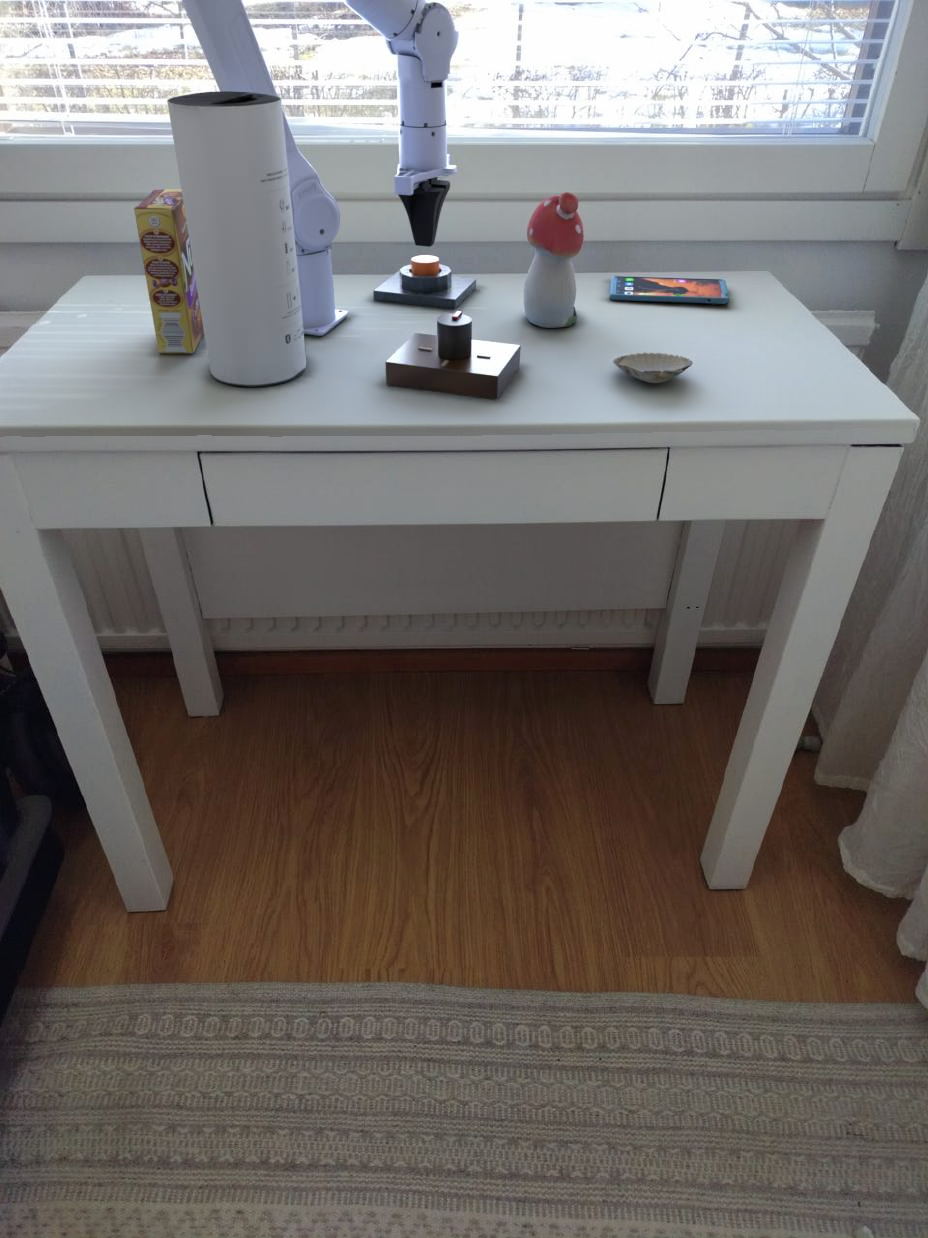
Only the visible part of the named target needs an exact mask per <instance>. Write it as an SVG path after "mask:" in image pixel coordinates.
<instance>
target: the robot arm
mask: <svg viewBox="0 0 928 1238" xmlns="http://www.w3.org/2000/svg"><path fill="white" fill-rule="evenodd" d="M342 1H343V3H344V4H345V6H347V7H348V8H350V10H351V11H352V12H354V13H355V14H356V15H357V16H359V17H360V18H361V19H362V20H363V21H365V22H366V23H367V24H368V25H370V27H372V28H373V29H374V30H375V31H376V32H377V33H379V34H380V35H381V36H382V37H384V41H385V45H386V47H387V49H388V51H389V52H390V54H391V55H395V56H396V82H397V83H396V85H397V87H396V89H397V117H398V118H397V120H398V121H397V123H398V153H399V155H398V156H399V158H398V159H399V160H398V161H399V162H398V164H397V174H395V175H394V177H393V180H394V181H393V183H394V195H398V198H399V199H400V200H401V203H402V204H403V205H402V206H403V207H404V209H405V211H406V215H407V218H408V221H409V226H410V230H411V234H412V238H413V241H414V246H417V247H427V248H428V247H429V248H431V247H432V246H433V245H434V244H435V242H436V238H437V237H436V236H437V232H438V227H439V226H438V225H439V221H440V216H441V212H442V208H443V206H444V203H445V200H446V197H447V195H448V193H449V191H450V189H451V182H450V180H445V179H444V180H443V179H438V177H442V176H445V175H451V176H452V175H454V174H455V173H457V165H454V164H453V165H452V164H451V155H450V154H448V79H449V75H450V74H451V60H452V57H453V56H454V54H455V51H456V50H457V47H458V43H459V36H460V32H459V31H457V30H456V26H455V22H454V20H453V17H452V15H451V13H450V11H449V10H448V8H447V7H445V5H443V4H442V3H439V2H436V1H427V0H342ZM181 2H182V4H183V7H184V9H185V11H186V14H187V16H188V19H189V22H190V23H191V26H192V28H193V31H194V33H195V35H196V39H197V40H198V42H199V45H200V48H201V49H202V52H203V54H204V57H205V59H206V62H207V64H208V66H209V69H210V71H211V73H212V76H213V78H214V81H215V83H216V85H217V88H218V91H232V92H251V93H261V94H269V95H274V96H278V97H279V95H278V92H277V89H276V87H275V84H274V82H273V78H272V76H271V73H270V71H269V68H268V65H267V63H266V60H265V58H264V55H263V53H262V50H261V47H260V44H259V42H258V40H257V39H258V38H257V36H256V33H255V31H254V28H253V26H252V23H251V21H250V18H249V16H248V13H247V11H246V10H247V9H246V8H245V5H244V1H243V0H181ZM282 113H283V124H284V134H285V144H286V155H287V165H288V175H289V186H290V196H291V206H292V216H293V226H294V237H295V247H296V257H297V267H298V278H299V288H300V299H301V310H302V321H303V331H304V335H312V336H318V337H319V336H321V337H322V336H324V335H325V334H327V333H328V332H330V331H331V330H332V329H333V328H335V326H337V325H338V324H339V323H340V322H342V321H343V320H344V319H345V318H347V317H348V316H349V311H348V310H345V309H344V310H343V309H336V303H335V290H334V277H333V264H332V251H331V249H333V245H332V242H333V241H334V240H335V238H336V236H337V234H338V233H339V229H340V224H341V212H340V207H339V205H338V203H337V201H336V198H334V197H333V196H332V194H330V193H329V192H328V190H327V189H325V187H324V185H323V184H322V182H321V179H320V176H319V174H318V172H317V171H316V170H315V168H314V167H313V166H312V165H311V164H310V162H309V161H308V160H307V158H305V157H304V156H303V154H302V153H301V151H300V150H299V147H298V145H297V142H296V140H295V138H294V135H293V132H292V129H291V127H290V124H289V121H288V119H287V116H286V113H285V111H284V108H283V107H282Z"/></svg>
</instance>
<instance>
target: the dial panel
mask: <svg viewBox="0 0 928 1238" xmlns="http://www.w3.org/2000/svg"><path fill="white" fill-rule="evenodd" d="M384 362H385V380H386V381H385V382H386V383H385V384H386V385H387V386H392V387H400V388H407V389H415V390H422V391H429V392H437V393H444V394H450V395H451V394H452V395H460V396H468V397H473V398H474V397H476V398H481V399H488V400H489V399H490V400H496V401H497V400H498V399H499V398H500V396H501V395H502V393H503V392H504V391H505V389H506V388H507V386H508V385H509V383H510V382H511V381H512V379H513V377H514V376H515V375H516V374H517V372H518V370H519V369H520V365H521V345H520V344H513V343H505V342H498V341H497V342H496V341H488V340H478V339H472V353H471V355H470V356H468V357H466V358H461V359H448V358H443V357H441V356H439V355H438V353H437V334H428V333H419V332H414V333H413V334H412V335H411V337H409V338H408V339H407V340H406V341H405V342H404V343H403V344H402V345H401V346H400V347H399V348H398V349H397V350H395V352H394V353H393V354H392V355H391V356H390V357H389V358H388V359H387V360H386V361H384Z"/></svg>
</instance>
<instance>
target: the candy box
mask: <svg viewBox="0 0 928 1238" xmlns="http://www.w3.org/2000/svg"><path fill="white" fill-rule="evenodd" d="M133 211H134V216H135V221H136V228H137V234H138V239H139V245H140V251H141V257H142V262H143V269H144V274H145V275H144V276H145V280H146V281H145V282H146V286H147V294H148V300H149V305H150V310H151V314H152V315H151V316H152V322H153V327H154V333H155V340H156V344H157V352H158V353H159V354H181V355H183V354H189V355H190V354H194V353H195V351H196V349H197V347H198V346H199V343H200V341H201V340H202V337H203V336H204V329H203V323H202V317H201V310H200V304H199V298H198V291H197V285H196V279H195V272H194V266H193V259H192V253H191V247H190V240H189V234H188V228H187V221H186V215H185V209H184V202H183V196H182V190H181V188H168V189H167V188H165V189H154V190H152V191H151V192H150V194H149V195H148V196H147V197H145V198H144V199H143V200H142V201H141V202H140V203H139V204H138V205H137V206H135V207H134V208H133Z"/></svg>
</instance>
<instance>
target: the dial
mask: <svg viewBox="0 0 928 1238" xmlns="http://www.w3.org/2000/svg"><path fill="white" fill-rule="evenodd" d="M436 335H437V353H438V355H439V356H441V357H443V358H448V359H461V358H466V357H468V356H470V355H471V353H472V340H473V319H472V317H470V316H469V315H466V314H463V311H460V310H456V312H455V313H447V314H443V315H440V316H438V317H437V318H436Z"/></svg>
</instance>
